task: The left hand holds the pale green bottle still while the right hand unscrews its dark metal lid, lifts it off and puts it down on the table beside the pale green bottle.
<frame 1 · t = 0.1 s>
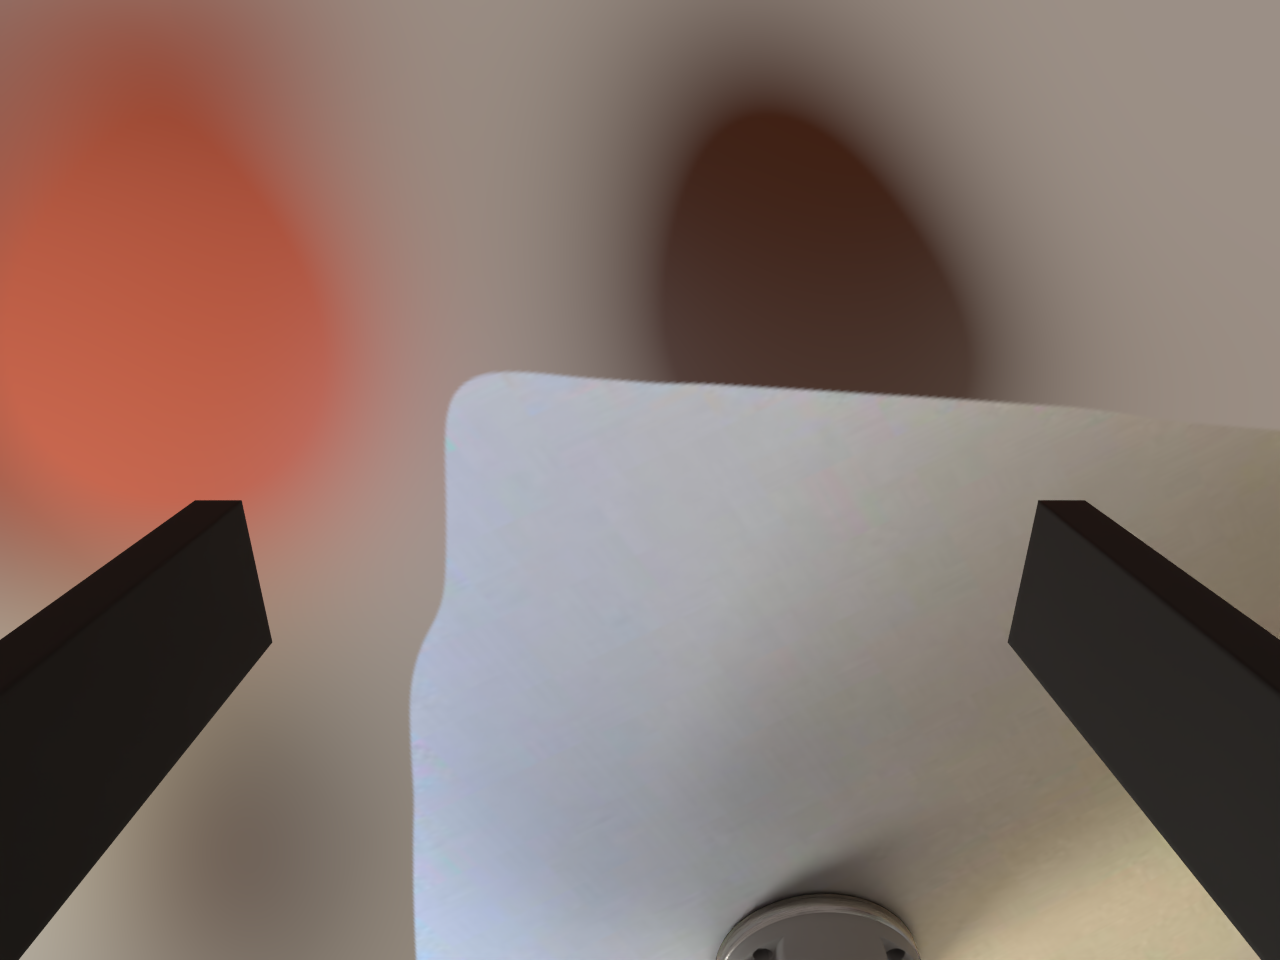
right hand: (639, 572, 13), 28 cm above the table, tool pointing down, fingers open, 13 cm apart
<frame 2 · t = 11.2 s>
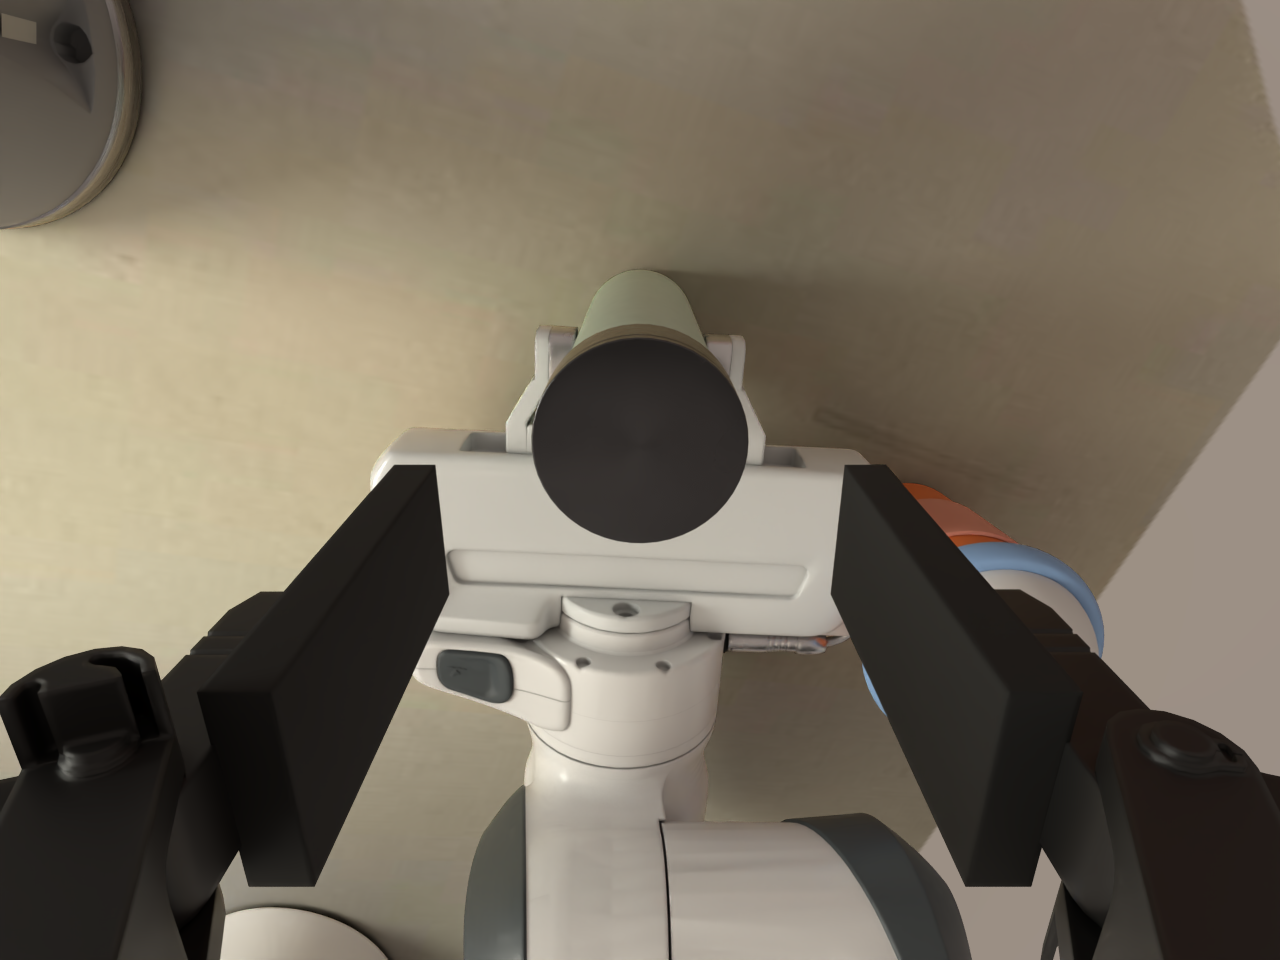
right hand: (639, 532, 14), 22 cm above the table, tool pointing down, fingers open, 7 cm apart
left hand: (639, 332, 28), fingers closed on pale green bottle, 5 cm apart
cup with straw: (896, 534, 39), on the table
pale green bottle: (639, 323, 35), on the table, touching left hand
lid: (639, 441, 19), point 17 cm above the table, screwed on, not yet turned
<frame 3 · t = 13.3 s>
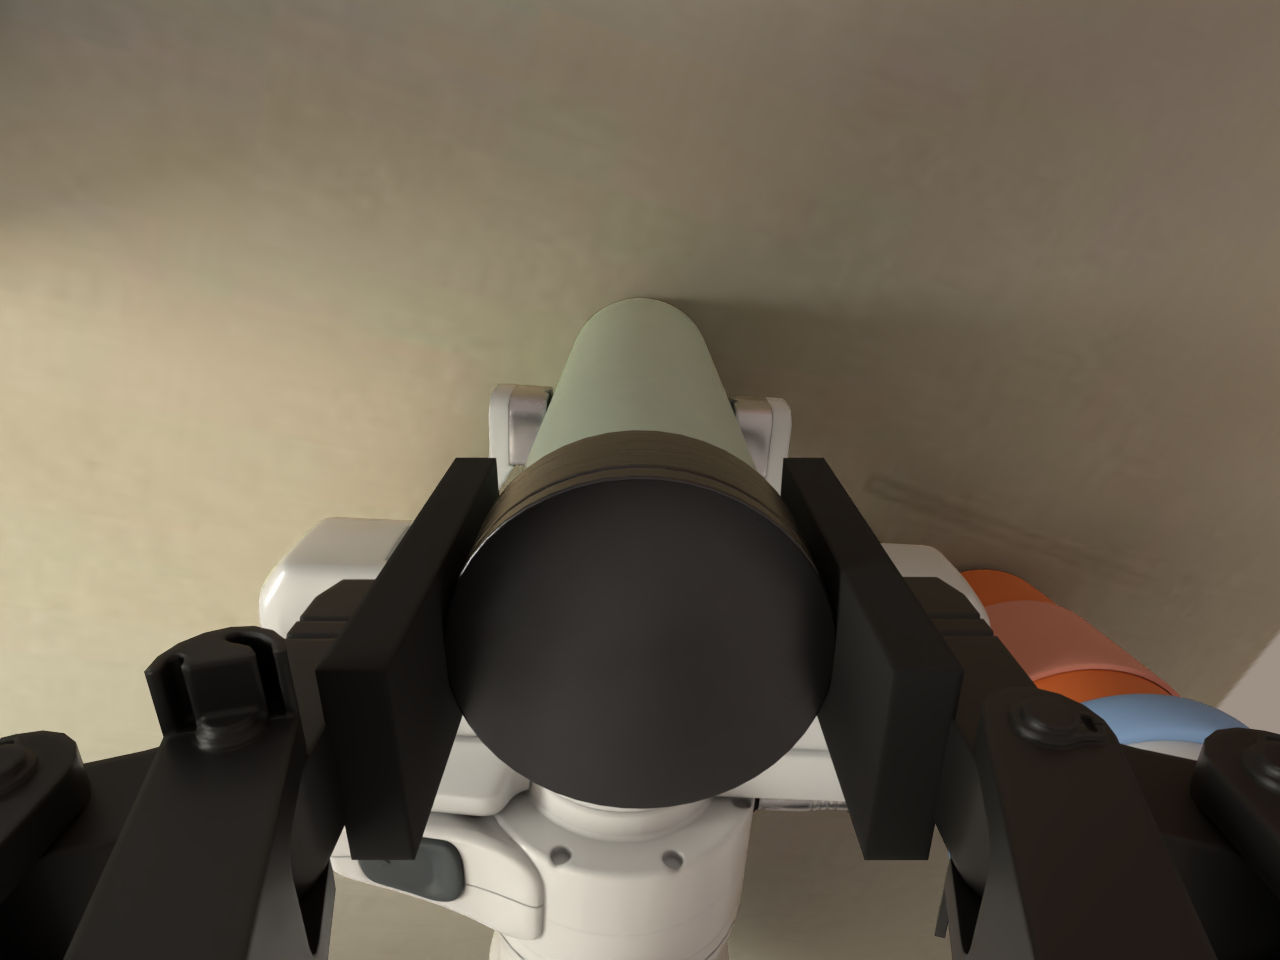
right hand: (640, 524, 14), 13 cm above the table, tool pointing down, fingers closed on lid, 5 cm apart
cup with straw: (967, 631, 30), on the table
pale green bottle: (639, 368, 26), on the table, touching left hand
lid: (639, 645, 11), point 17 cm above the table, screwed on, not yet turned, touching right hand
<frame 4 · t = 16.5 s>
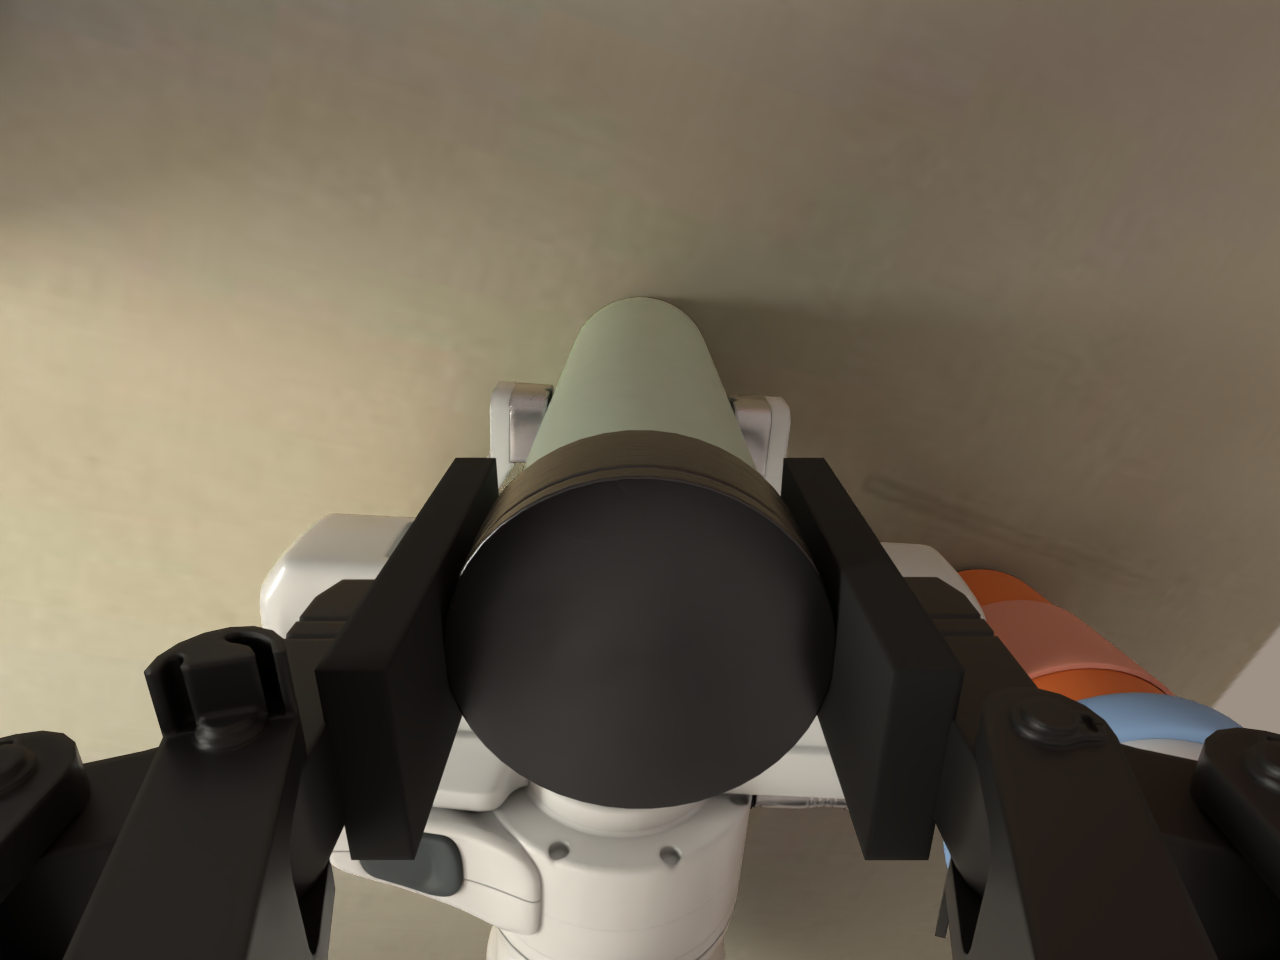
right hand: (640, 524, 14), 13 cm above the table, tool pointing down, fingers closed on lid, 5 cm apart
cup with straw: (963, 631, 30), on the table
pale green bottle: (639, 367, 26), on the table, touching left hand
lid: (639, 645, 11), point 17 cm above the table, turned 107° so far, risen 0.1 cm, still on its thread, touching right hand
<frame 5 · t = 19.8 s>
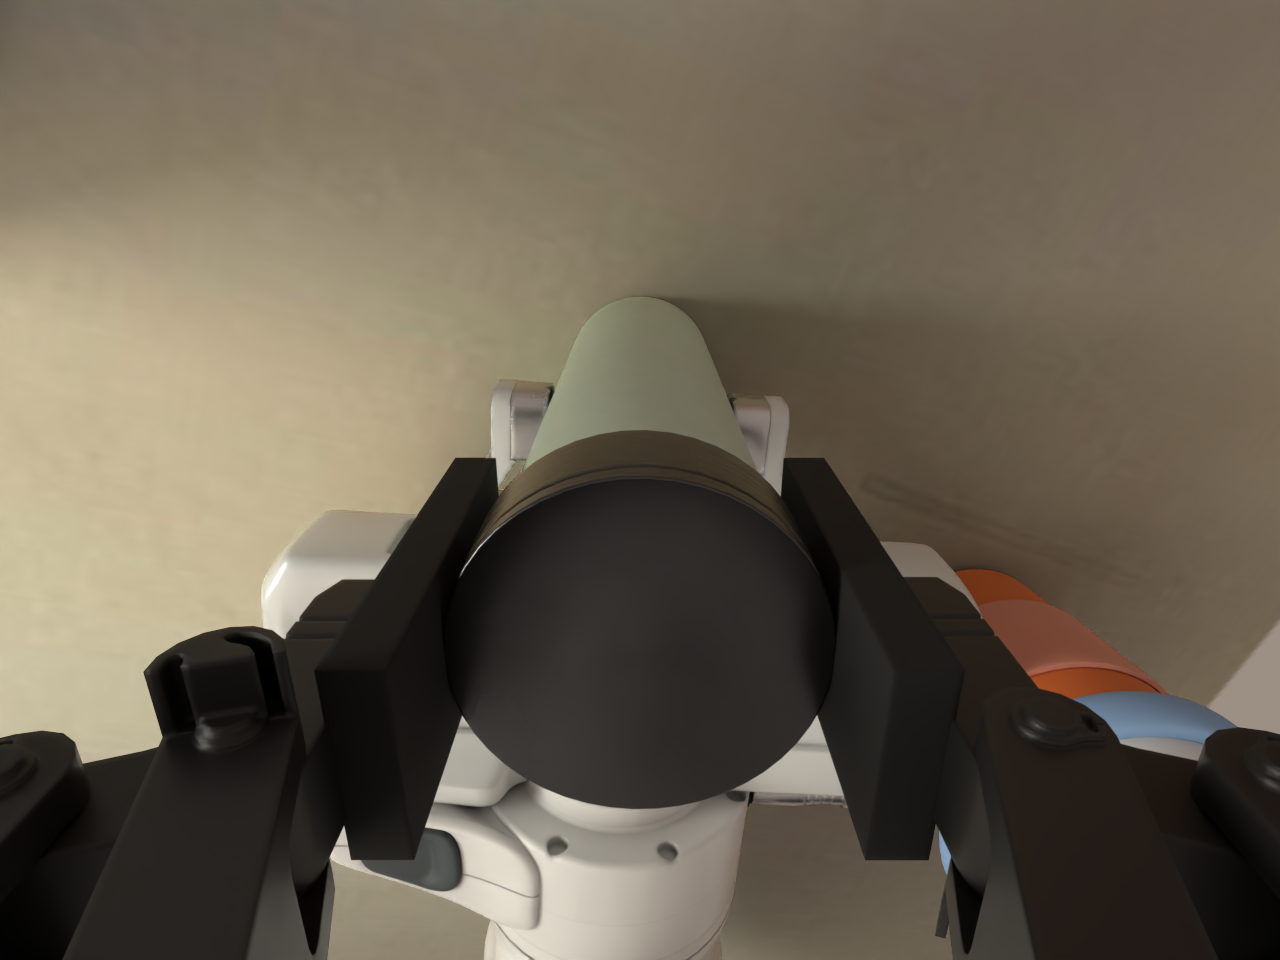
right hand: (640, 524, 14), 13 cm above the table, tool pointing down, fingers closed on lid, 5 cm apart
cup with straw: (960, 630, 31), on the table
pale green bottle: (639, 366, 27), on the table, touching left hand
lid: (639, 645, 11), point 17 cm above the table, turned 214° so far, risen 0.3 cm, still on its thread, touching right hand
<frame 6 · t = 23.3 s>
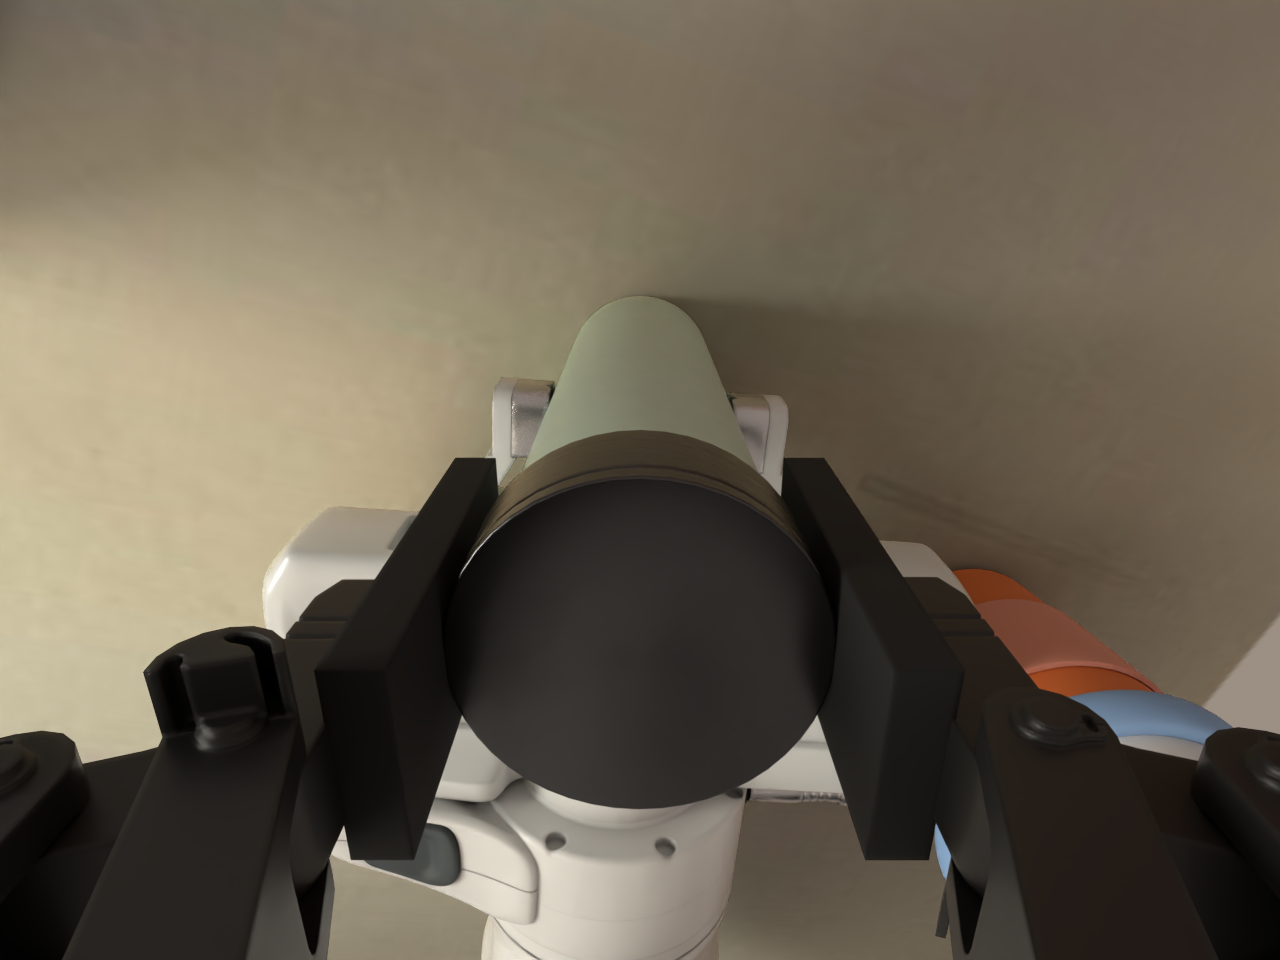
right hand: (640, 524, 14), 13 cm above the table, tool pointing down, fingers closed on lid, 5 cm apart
cup with straw: (957, 629, 31), on the table
pale green bottle: (639, 365, 27), on the table, touching left hand
lid: (639, 645, 11), point 17 cm above the table, turned 321° so far, risen 0.4 cm, still on its thread, touching right hand
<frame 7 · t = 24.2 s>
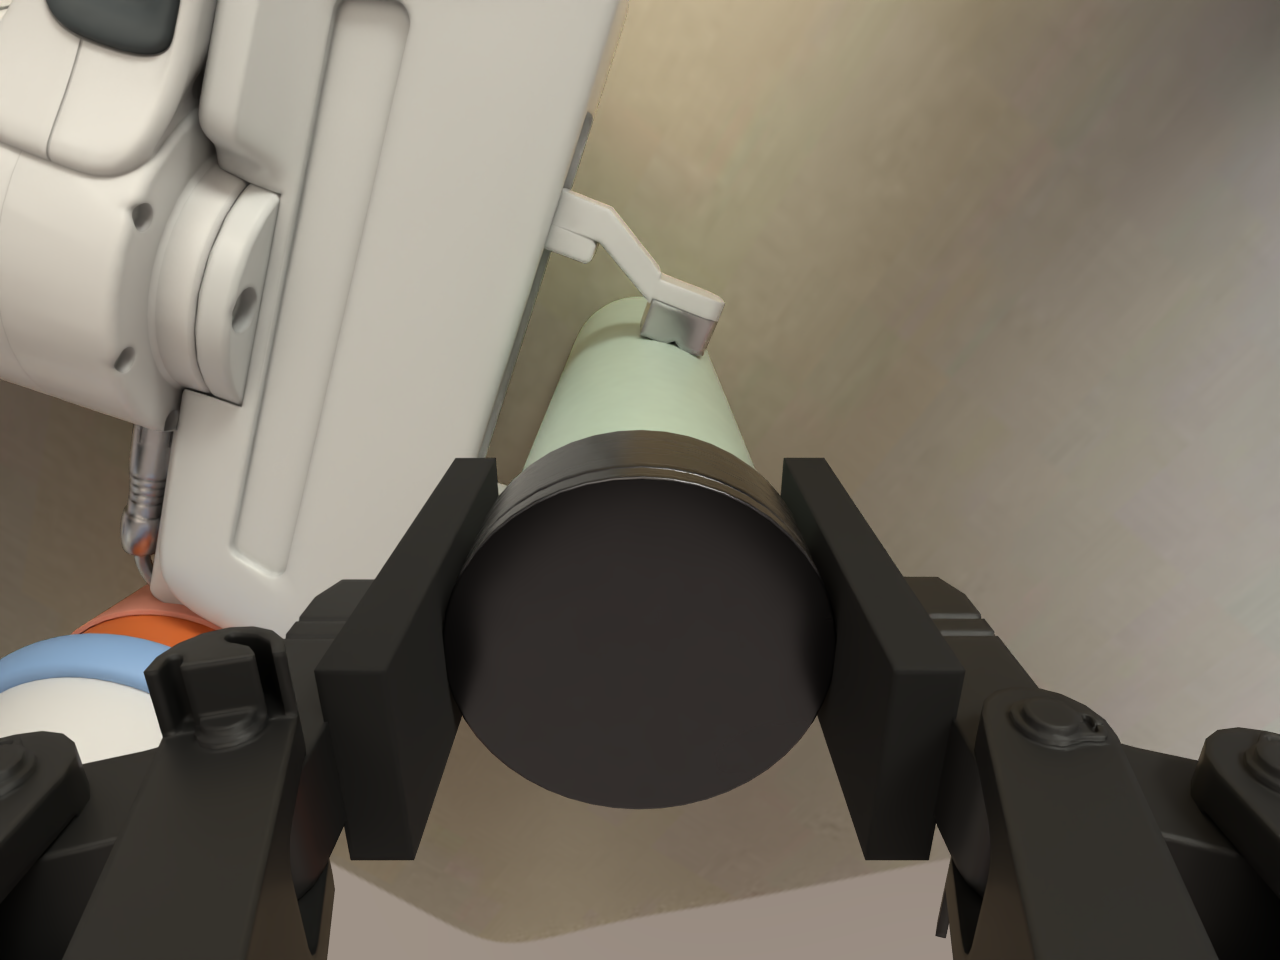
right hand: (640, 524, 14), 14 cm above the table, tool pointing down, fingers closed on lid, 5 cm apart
left hand: (669, 431, 21), fingers closed on pale green bottle, 5 cm apart
cup with straw: (285, 592, 30), on the table
pale green bottle: (639, 365, 27), on the table, touching left hand
lid: (639, 645, 11), point 18 cm above the table, off its thread, touching right hand
when the right hand's fingers open (0 cm above the table, at t = 30.1 s): lid drops 3 cm, point 2 cm above the table.
when the left hand's fingers open (7 cm above the table, at t = 30.8 s): pale green bottle stays where it is, on the table.
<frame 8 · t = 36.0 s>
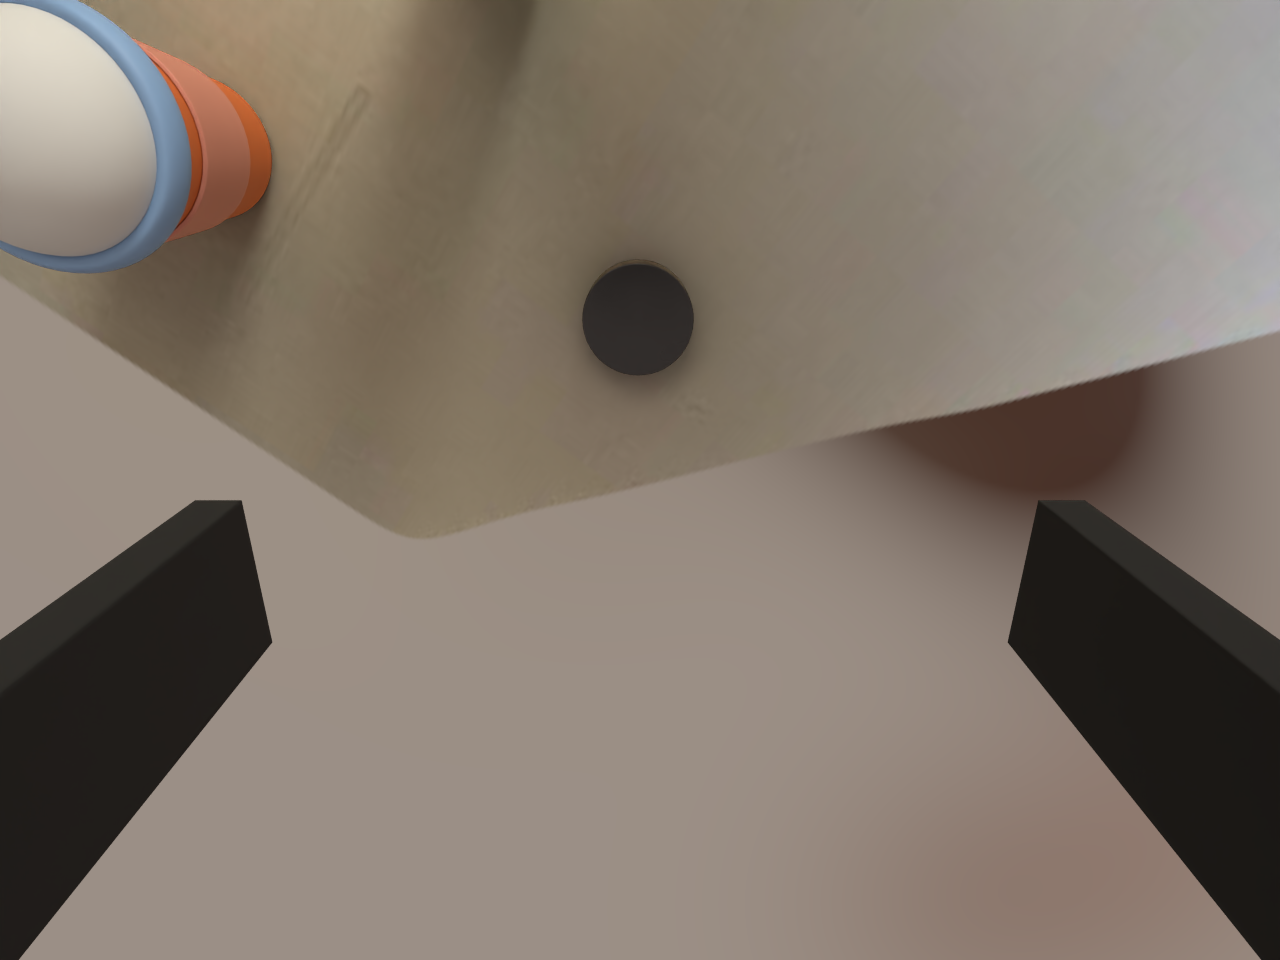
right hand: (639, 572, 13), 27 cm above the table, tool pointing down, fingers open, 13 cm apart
cup with straw: (209, 149, 35), on the table
lid: (638, 319, 37), point 2 cm above the table, off its thread
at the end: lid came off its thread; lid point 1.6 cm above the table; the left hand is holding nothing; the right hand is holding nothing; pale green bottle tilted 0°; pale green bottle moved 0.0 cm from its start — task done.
